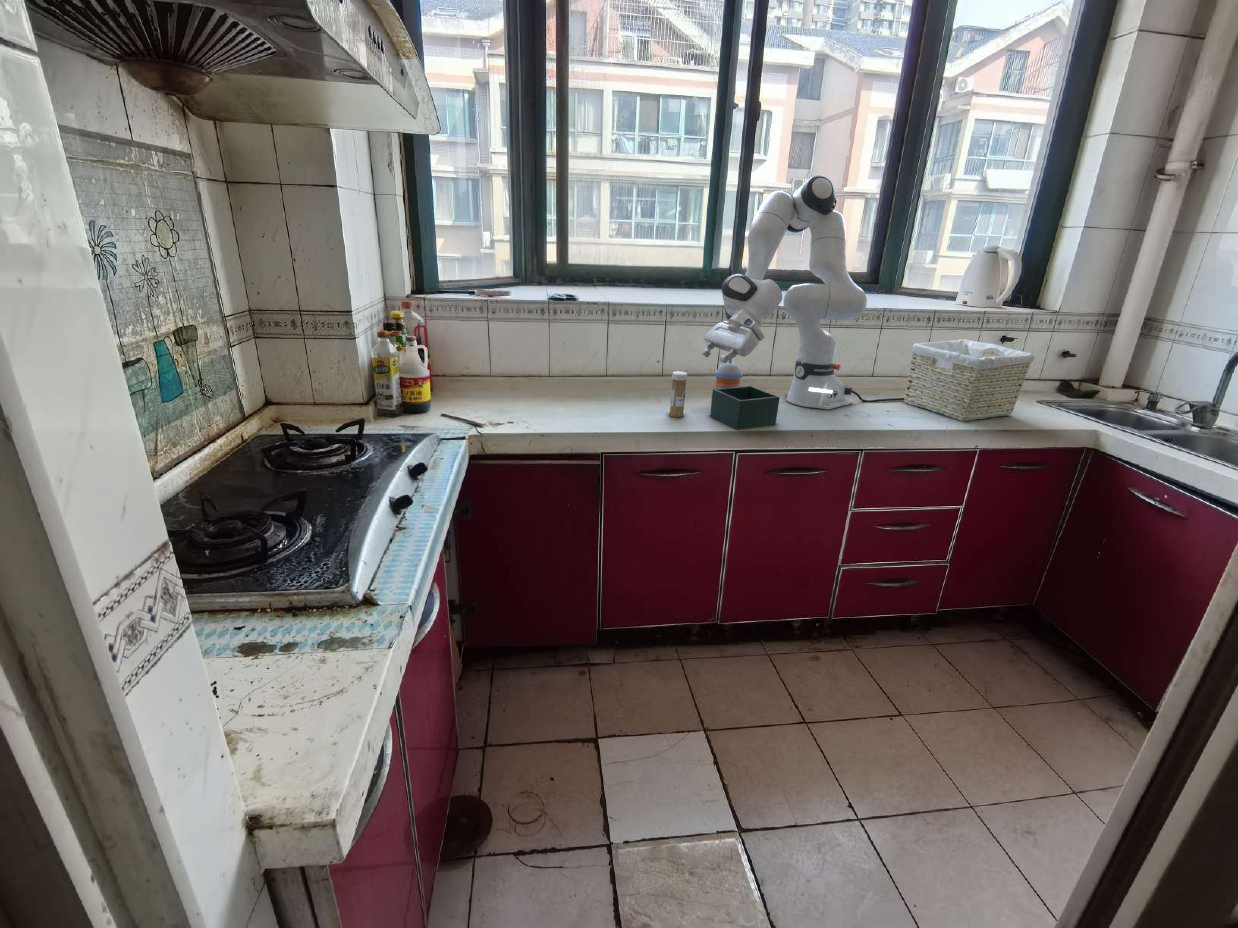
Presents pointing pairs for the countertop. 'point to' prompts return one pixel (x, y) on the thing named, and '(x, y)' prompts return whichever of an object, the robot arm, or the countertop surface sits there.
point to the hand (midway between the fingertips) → (713, 358)
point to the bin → (744, 407)
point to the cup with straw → (728, 375)
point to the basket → (966, 378)
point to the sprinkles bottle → (678, 393)
